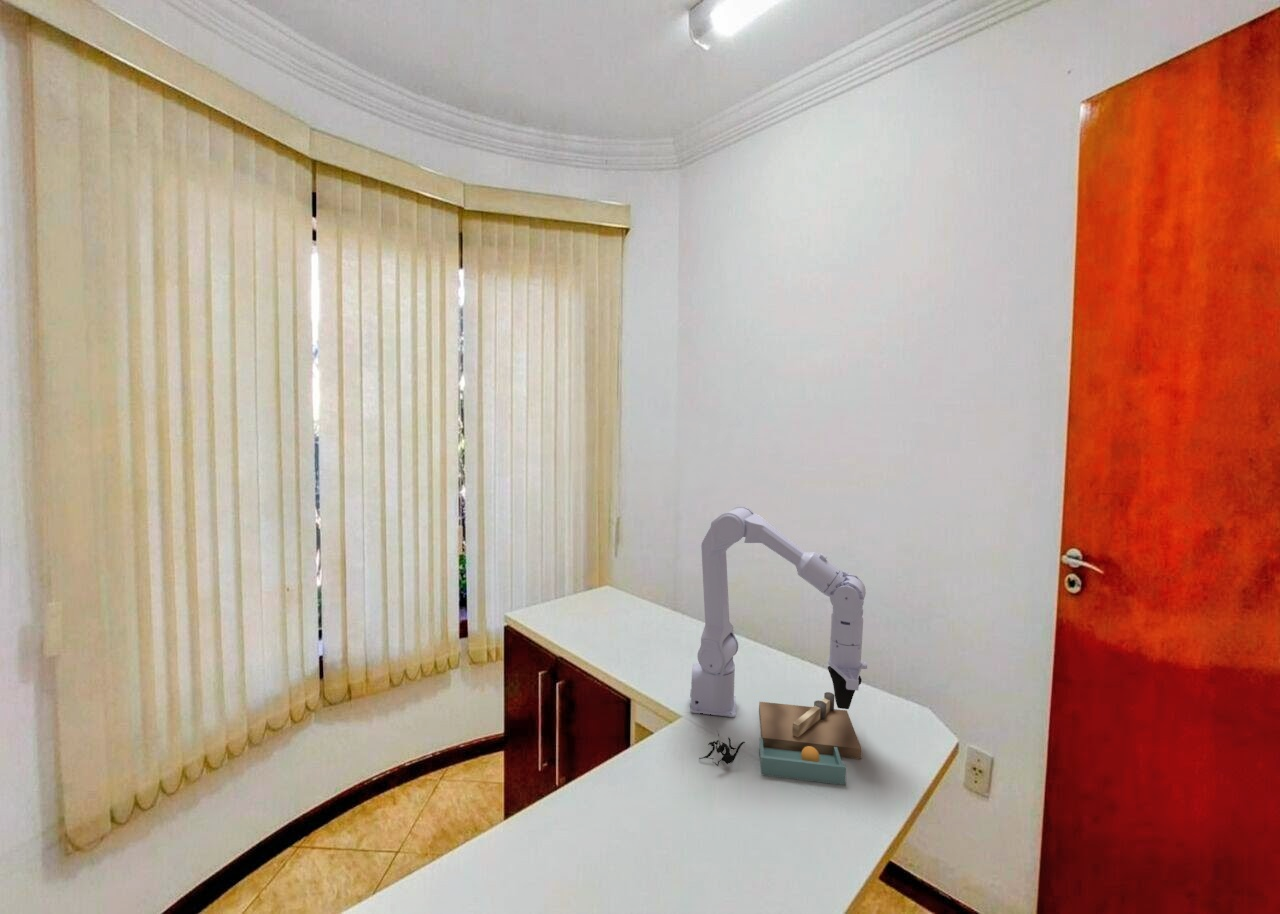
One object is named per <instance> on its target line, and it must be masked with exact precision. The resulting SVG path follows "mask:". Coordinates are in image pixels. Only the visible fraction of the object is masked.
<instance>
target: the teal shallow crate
mask: <svg viewBox="0 0 1280 914" xmlns="http://www.w3.org/2000/svg"><path fill="white" fill-rule="evenodd" d="M758 741H759V742H758V744H759V745H758V751H759V752H758V753H759V762H760V763H759V764H760V775H761V776H768V777H775V778H777V777H778V778H783V779H784V778H785V779H793V780H801V781H807V782H808V781H809V782H816V783H826V784H830V785H831V784H832V785H833V784H834V785H839V786H841V785H842V786H846V775H847V774H846V773H847V766H846V765H844V764H843V762H842V759H841V758H842V757H840V755H839V751H838V748H837V747H834V754H833V755H826V754H819V762H812V761H804V760H802V758H801V752H800V751H792V750H783V749H774V748H766V747H763V739H761V737H759V739H758Z"/></svg>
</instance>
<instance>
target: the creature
mask: <svg viewBox="0 0 1280 914" xmlns="http://www.w3.org/2000/svg"><path fill="white" fill-rule="evenodd" d="M716 731H717V735H718V738H719V739H718V740H716V741H715V740H713V741H709V743H708V744H707V745H708V746H709V745H710V747H712V749H711V750H710V751H709V752H708V754H707V755H705V756H703V757H699V758H698V759H700V760H701V759H710V760H712V763H714V764H715V765H716V766H717V767H719V765H720V763H721V762H724V763H725V765H727V766H728V765H730V764H732V763H733V762H734V760H735V759H736V757H737V755H738V753H739V750H740V749H741V747H742V746H743V744H745V743H746V741H742V742H741V743H739V744H738V745H737V747H733V746H732V741H731V737H729V736H728V738H727V739H728V744H729V745H728V744H727V743H725V742H723V741H722V739H721V737H720V734H719V731H718V730H716ZM715 750H716V753H717V754H721V755H722V757H721V759H720V760H718V761H717V763H716V762H714V761H713V760H714V759H715V758H714V757H711V756H712V754H713V752H714V751H715ZM731 750H732V751H735V752H734V753H733V754H731Z"/></svg>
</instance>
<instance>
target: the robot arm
mask: <svg viewBox="0 0 1280 914" xmlns="http://www.w3.org/2000/svg"><path fill="white" fill-rule="evenodd" d="M743 538H744V543H745V544H763V546H766V547H767V548H768V549H770V550H771V551H772V552H774V553H776V554H777V555H779V556H781V557H782V558H783V559H785V560H786V561H788V562H789V563H791V564H792V565H794V566H795V568H796V572H797V575H798V577H800V578H801V579H803V580H805V581H806V582H807V583H808V584H810V585H811V586H812V587H813V588H815V589H816V590H818V591H819V592H820V593H822V594H823V595H825V596H826V597H829V601H830V603H831V605H832V613H831V614H830V615H831V620H830V637H829V639H830V640H829V656H828V657H827V663H828V665H829V666H827V670H828V673H829V676H830V678H831V680H832V685H833V694H834V701H835V704H836V706H837V707H836V708H838V709H840V710H849V709H850V706H851V703H852V700H853V698H854V695H855V692H856V691H859V688H860V687H859V686H860V685H861V684H862V677H861V672H862V670H867V669H868V664H867V662H866V661H864V660H862V652H863V649H862V648H863V647H862V645H863V631H864V618H863V615H864V609H863V606H864V603H865V597H866V594H867V593H866V592H867V591H866V586H865V584H864V583H863V580H861V579H860V578H859V577H858V576H857V575H855V574H852V573H849V572H848V571H846V570H845V569H844V570H841V569H840V568H839V567H837V566H835V564H833V563H832V562H830V561H829V560H827V559H828V556H827V555H826V554H824V553H823V552H821V553H820V554H819V553H818V552H816V551H810V552H807V551H805V550H803V548H801V547H800V546H798V545H797V544H795V542H794V541H792V540H791V539H789V538H788V537H787V536H786V535H784V534H783V533H782V532H780V531H779V530H778V529H777V528H775V527H774V526H773V525H771V524H770V522H768V521H767V520H765V518H764V517H762V516H761V515H759V514H758V513H756V512H755V513H754V512H753V510H752V509H750V508H748V507H746V506H742V505H741V506H737V507H734V508H732V509H731V510H729V511H727V512H724V513H721V514H720V515H719V516H717V517H716V518H715V519H714V520H712V521H711V523H710V526H709V529H708V531H707V533H705V536H704V538H703V540H702V542H701V546H700V547H701V566H702V569H701V570H702V584H703V585H702V586H703V603H704V605H703V606H704V608H703V609H704V627H703V630H702V633H701V636H700V647H699V649H698V652H697V660H698V661H697V662H698V663H692V666H691V667H692V669H691V682H690V683H691V688H690V697H689V698H690V712H691V713H692V712H694V713H693V714H700V713H703V714H702V715H710V714H711V715H713V716H722V717H731V718H735V717H736V715H737V714H736V713H737V710H736V709H737V708H736V705H737V704H736V696H735V678H736V677H735V675H736V674H735V670H736V665H735V662H734V656H735V655H736V654H737V652H738V651H739V642H738V639H737V638H736V635H735V632H734V631H735V630H734V625H733V624H732V623H731V622H730V609H729V608H730V605H729V603H730V602H729V583H728V563H727V551H728V550H729V549H730V547H732V546H733V545H734V544H736V543H738V542H739V541H741V540H742V539H743ZM711 715H710V716H711Z"/></svg>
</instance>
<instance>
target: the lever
mask: <svg viewBox="0 0 1280 914" xmlns="http://www.w3.org/2000/svg"><path fill="white" fill-rule="evenodd" d="M823 697H824V698H823V699H821V700H814V702H813V706H811V707H812V708H811V709H810V710H809V711H807V712H806V713H805V714H803V715H802V716H801V717H800V718H798V719H797V720H796V721H794V722H793V726H792V735H794V736H796V737H799V736H800V735H801V734H803V733H804V732H805V731H806V730H808V729H809V728H810V727H811V726H812V725H814V724H815V723H816V722H817V721H818V720H820V719H825V718H826V714H827V713H828V712H829V711H833V710H834V709H835V694H834V692H829V691H828V692H827V691H826V692H824V696H823Z"/></svg>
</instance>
